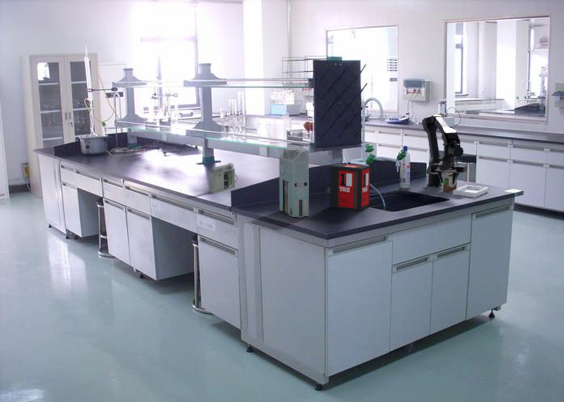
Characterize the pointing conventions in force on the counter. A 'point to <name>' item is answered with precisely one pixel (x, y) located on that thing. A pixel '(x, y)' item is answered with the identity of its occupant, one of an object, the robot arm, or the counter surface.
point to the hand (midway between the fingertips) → (447, 183)
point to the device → (294, 181)
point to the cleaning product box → (349, 186)
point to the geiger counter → (222, 178)
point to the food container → (448, 181)
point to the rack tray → (470, 191)
